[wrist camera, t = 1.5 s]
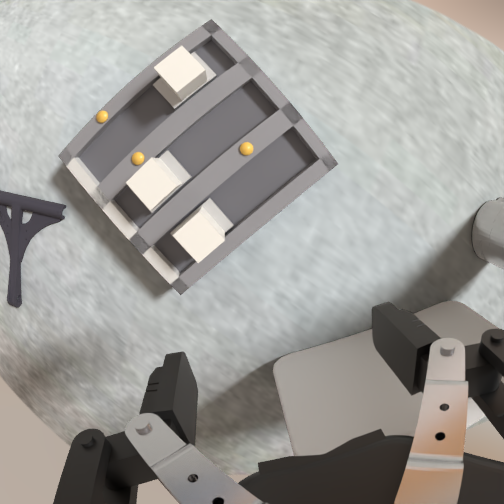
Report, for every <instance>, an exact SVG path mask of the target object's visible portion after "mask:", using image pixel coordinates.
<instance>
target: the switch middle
mask: <svg viewBox="0 0 504 504" xmlns="http://www.w3.org/2000/svg"><path fill="white" fill-rule="evenodd" d="M191 177H192V176H191V175H190V174H189V173H188V172H187V171H186V170H185V168H184V167H183V166H182V165H181V164H180V163H179V162H178V161H177V159H176V158H175V157H174V156H173V155H172V154H171V153H170V151H169V150H167V151H166V152H165V153H164V154H163V155H162V156H160V157H159V158H150V159H149V160H148V161H147V162H146V163H145V164H144V165H143V166H142V167H141V168H140V169H139V170H138V171H137V172H136V173H135V174H134V175H133V176H132V177H131V178H130V179H129V180H128V181H127V182H126V183H127V185H128V186H129V187H130V189H131V190H132V191H133V192H134V193H135V194H136V196H137V197H138V198H139V199H140V200H141V201H142V202H143V203H144V205H145V206H146V207H147V208H148V209H149V210H150V211H151V213H153V212H154V211H155V210H156V209H157V208H158V207H159V206H160V205H161V204H162V203H164V202H165V201H166V200H167V199H168V198H169V197H170V196H171V195H172V194H173V193H174V192H175V191H177V190H178V189H179V188H180V187H181V186H182V185H183V184H184V183H186V182H187V181H188V180H189V179H190V178H191Z"/></svg>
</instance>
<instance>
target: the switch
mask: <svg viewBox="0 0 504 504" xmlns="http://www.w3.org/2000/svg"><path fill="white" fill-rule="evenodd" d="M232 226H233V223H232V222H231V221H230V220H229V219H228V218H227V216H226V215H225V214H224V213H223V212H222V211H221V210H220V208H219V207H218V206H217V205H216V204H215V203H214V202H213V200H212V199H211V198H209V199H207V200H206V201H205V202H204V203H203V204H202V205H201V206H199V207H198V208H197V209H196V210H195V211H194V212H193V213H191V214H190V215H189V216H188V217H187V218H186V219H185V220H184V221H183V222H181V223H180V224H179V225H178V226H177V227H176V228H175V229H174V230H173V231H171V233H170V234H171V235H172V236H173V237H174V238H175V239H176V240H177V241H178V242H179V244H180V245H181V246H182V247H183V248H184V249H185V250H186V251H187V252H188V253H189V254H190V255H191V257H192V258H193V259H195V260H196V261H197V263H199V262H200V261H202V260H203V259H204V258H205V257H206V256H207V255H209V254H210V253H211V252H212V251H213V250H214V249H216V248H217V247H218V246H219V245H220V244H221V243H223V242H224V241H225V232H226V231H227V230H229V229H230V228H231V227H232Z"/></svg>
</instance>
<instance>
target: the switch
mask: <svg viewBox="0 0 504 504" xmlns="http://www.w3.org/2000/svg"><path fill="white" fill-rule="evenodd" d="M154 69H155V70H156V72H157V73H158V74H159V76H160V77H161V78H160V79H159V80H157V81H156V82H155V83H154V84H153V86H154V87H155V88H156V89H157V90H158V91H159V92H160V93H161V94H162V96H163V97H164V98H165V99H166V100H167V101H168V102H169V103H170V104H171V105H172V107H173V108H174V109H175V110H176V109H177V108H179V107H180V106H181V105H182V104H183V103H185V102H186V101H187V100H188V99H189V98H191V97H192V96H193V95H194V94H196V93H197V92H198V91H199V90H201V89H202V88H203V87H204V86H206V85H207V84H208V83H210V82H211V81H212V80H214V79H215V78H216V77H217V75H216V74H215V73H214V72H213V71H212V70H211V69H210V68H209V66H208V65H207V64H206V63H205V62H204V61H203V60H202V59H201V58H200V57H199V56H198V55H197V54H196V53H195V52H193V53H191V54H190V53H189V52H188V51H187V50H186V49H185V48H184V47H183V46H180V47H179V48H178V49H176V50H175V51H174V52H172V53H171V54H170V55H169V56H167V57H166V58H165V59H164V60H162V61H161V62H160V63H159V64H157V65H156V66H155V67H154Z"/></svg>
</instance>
